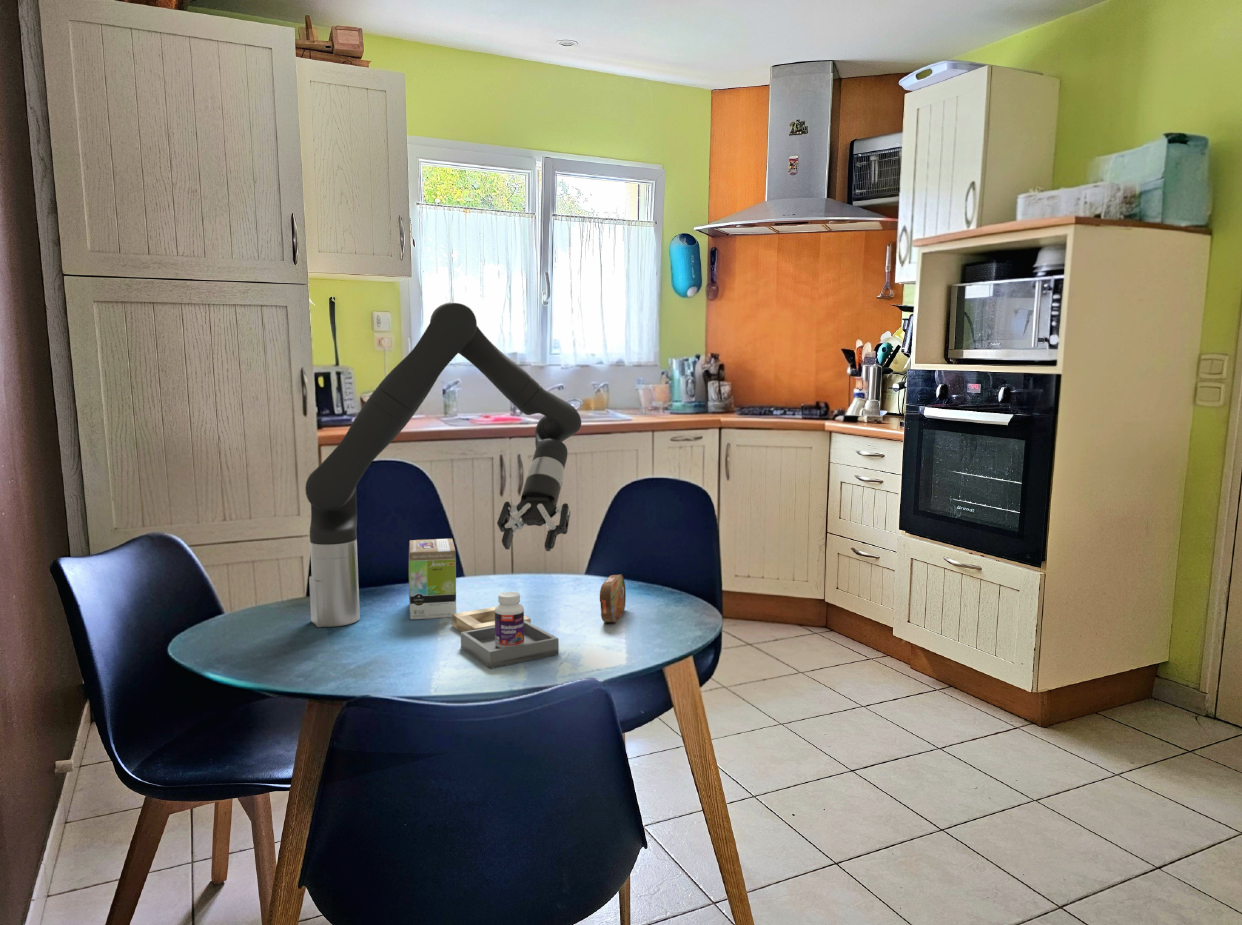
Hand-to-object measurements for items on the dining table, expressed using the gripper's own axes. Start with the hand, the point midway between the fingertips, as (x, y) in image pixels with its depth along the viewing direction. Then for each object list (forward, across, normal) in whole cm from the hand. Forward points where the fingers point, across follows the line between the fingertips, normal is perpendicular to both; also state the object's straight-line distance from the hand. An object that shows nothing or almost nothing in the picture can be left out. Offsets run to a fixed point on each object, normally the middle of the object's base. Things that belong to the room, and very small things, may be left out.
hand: (526, 548), depth 162 cm
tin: (+2, +14, +23) cm, 27 cm away
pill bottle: (+19, 0, +4) cm, 20 cm away
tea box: (+4, -26, +21) cm, 34 cm away
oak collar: (+11, -8, +13) cm, 19 cm away
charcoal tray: (+20, 0, +4) cm, 20 cm away
